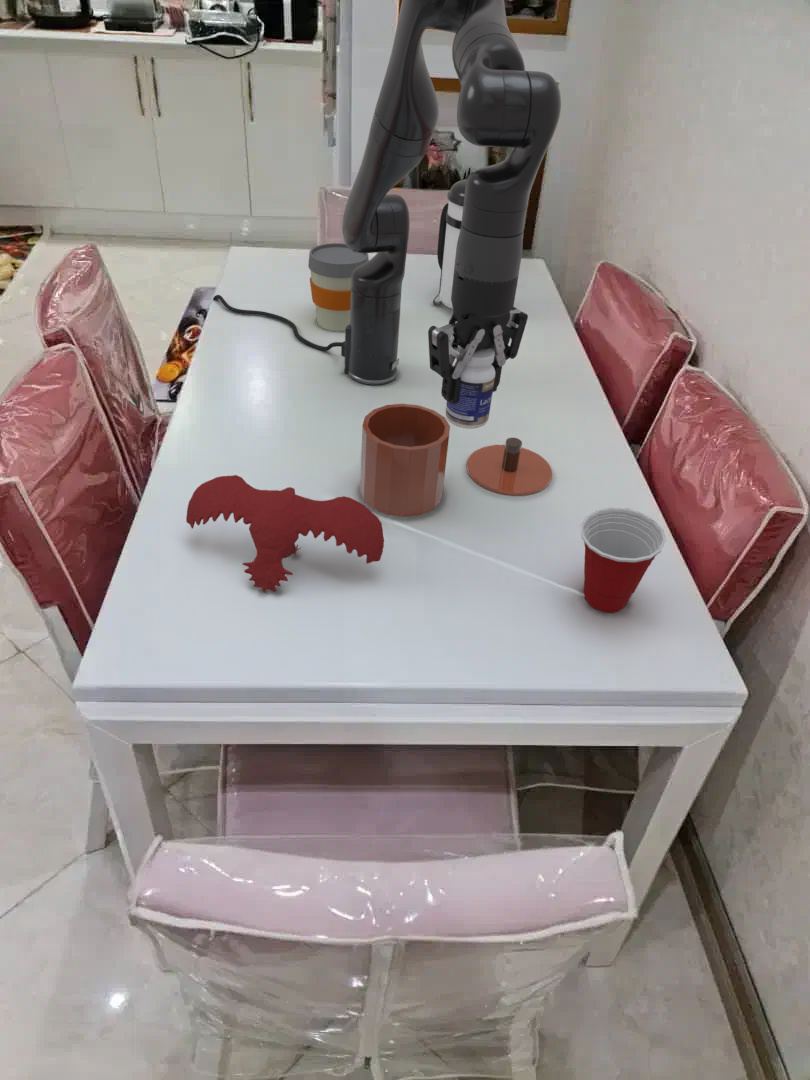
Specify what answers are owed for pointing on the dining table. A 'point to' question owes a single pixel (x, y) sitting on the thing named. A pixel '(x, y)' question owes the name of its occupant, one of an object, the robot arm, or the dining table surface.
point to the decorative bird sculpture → (285, 523)
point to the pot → (403, 459)
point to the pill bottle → (474, 391)
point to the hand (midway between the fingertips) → (469, 394)
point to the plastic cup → (617, 555)
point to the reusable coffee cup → (333, 283)
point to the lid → (509, 469)
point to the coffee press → (449, 240)
